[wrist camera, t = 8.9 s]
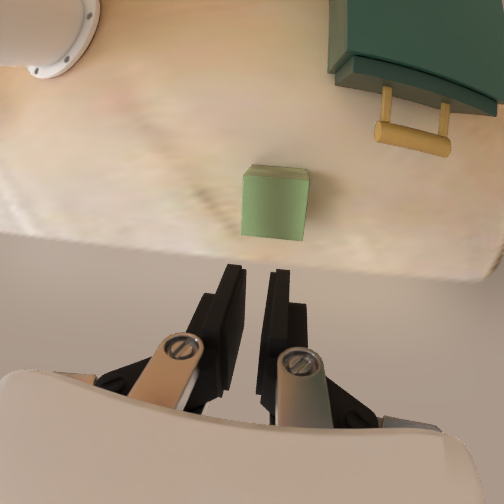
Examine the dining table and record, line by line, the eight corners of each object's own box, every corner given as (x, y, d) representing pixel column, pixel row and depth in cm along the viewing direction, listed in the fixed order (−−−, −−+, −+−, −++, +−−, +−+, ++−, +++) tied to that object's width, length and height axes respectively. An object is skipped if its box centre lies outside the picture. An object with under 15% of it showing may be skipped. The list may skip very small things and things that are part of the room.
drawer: (444, 155, 22) (489, 172, 15) (331, 132, 23) (347, 139, 16) (446, -5, 14) (484, -28, 7) (336, -37, 15) (348, -78, 8)
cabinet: (450, 102, 20) (510, 105, 12) (327, 73, 21) (346, 49, 13) (445, -16, 14) (489, -46, 5) (328, -49, 15) (339, -101, 6)
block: (249, 215, 28) (240, 235, 24) (251, 164, 26) (243, 174, 22) (301, 220, 28) (302, 241, 23) (306, 169, 26) (309, 180, 21)
